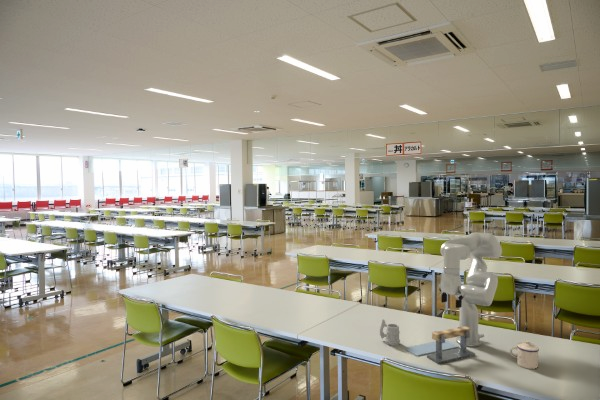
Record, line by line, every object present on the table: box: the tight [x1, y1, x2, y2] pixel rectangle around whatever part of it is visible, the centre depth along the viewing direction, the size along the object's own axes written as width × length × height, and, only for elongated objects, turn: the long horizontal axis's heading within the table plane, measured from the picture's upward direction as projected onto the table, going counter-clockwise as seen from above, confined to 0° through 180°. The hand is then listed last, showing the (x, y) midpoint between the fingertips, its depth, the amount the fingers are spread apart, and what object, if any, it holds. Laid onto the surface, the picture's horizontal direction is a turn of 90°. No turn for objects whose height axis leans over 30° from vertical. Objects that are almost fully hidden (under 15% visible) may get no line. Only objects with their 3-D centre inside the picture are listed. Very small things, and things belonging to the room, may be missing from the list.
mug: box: [379, 318, 401, 347], centre depth 211 cm, size 8×12×12 cm, turn 50°
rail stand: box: [426, 326, 476, 365], centre depth 193 cm, size 24×8×13 cm, turn 113°
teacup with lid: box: [509, 340, 540, 370], centre depth 185 cm, size 12×9×12 cm
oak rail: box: [431, 326, 470, 341], centre depth 193 cm, size 22×3×3 cm, turn 113°
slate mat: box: [403, 339, 460, 357], centre depth 204 cm, size 28×10×1 cm, turn 113°
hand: (451, 304), depth 193 cm, fingers open, 9 cm apart
